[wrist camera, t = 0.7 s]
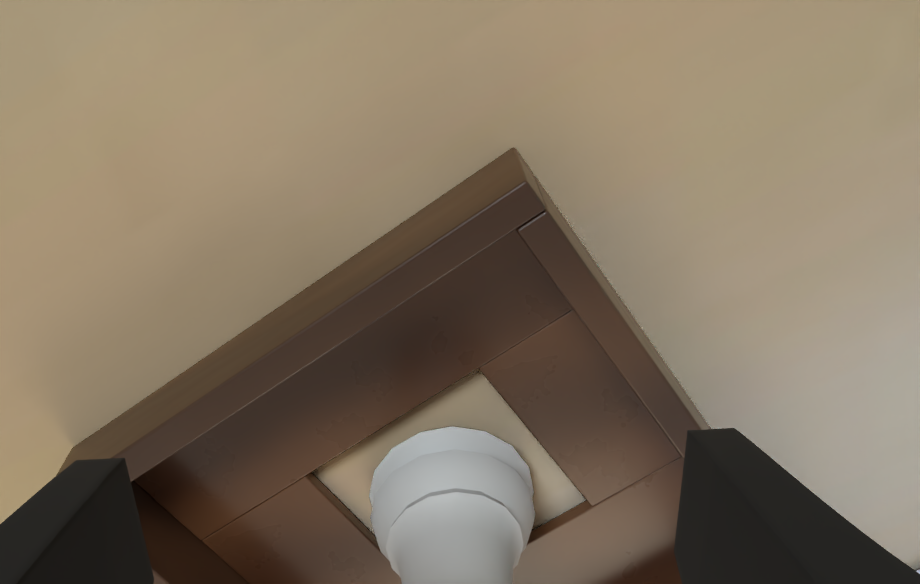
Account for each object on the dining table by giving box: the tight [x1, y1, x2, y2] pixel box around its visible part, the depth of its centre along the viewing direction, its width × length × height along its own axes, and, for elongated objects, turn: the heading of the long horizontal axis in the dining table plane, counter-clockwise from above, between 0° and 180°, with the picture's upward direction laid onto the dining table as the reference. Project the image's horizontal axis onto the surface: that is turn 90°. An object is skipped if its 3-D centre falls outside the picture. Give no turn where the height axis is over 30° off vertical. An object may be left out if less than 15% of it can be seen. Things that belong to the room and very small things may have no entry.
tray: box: [56, 148, 711, 584], centre depth 23 cm, size 15×14×2 cm
